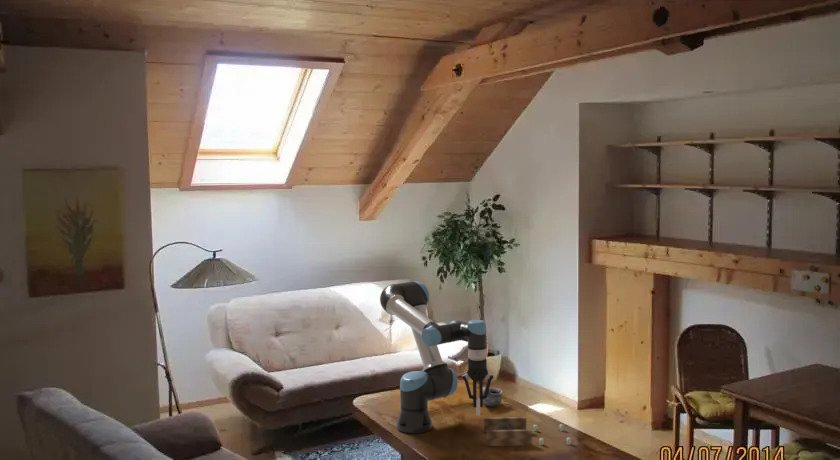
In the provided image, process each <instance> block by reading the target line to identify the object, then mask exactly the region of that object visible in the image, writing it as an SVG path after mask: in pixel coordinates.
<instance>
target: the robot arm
mask: <svg viewBox="0 0 840 460" xmlns="http://www.w3.org/2000/svg"><path fill="white" fill-rule="evenodd" d="M429 301H430V292H429V290H428V288H427V286H426V285H425V284H424V283H422V282H421V281H412V280H411V281H408V282H401V283H392V284H388V285H386V286H385V287H384V288H383V290H382V291H381V293H380V296H379V302H380V305H381V308H382V309H383V310H384V311H385V313H388V314H389V315H391V316H395V317H397V318H398V319H399V320H400V321H402V322H403V323H404V324H406V325H408V326H409V327H410V329H411V331H412V334H413V337H414V341H415V344H416V346H417V349H418V353H419V357H420V359H421V362H422V366H423V368H422V370H416V371H415V370H412V371H409V372H406V373H404V374H403V375H402V376H401V378H400V383H399V391H400V395H399V396H400V411H399V414H398V418H397V421H396V429H397V431H400V432H401V433H406V434H423V433H426V432H428V431H431V430H432V428H433V420H432V418H431V416H430V412H429V408H428V407H429V405H428V402H429V401H433V400H437V399H440V398H441V399H442V398H447V397H449V396H452V395H454V393H456V391H457V387H458V383H459V381H458V375H457V372H456V371H455V370H454V369H453V368H451V367H449V366H448V363H447V362H445V361H444V360H443V359H442V357H441V356H442V355H441V353H440V349H439V347H438V346H439V345H443V344H448V343H454V342H459V341H463V342H466V343H467V358H468V359H467V364H468V365H467V367H468V368H467V370H466V373H465V374H462V375H461V378H462V380H463V381H464V383H465V388H466V390H467V395H468V398H469V399H471V400H473V401H472V403H473V404H472V405H473V406H472V407H473V408H475V415H476V417H480V416H481V408H483V405H484V403H483V399H484V398H487V396H488V392H489V388H491V387H490V386H491V382H492V380H493V379H494V375H493V374H492V373H490V372H489V371H488V368H487V367H488V363H487V361H488V360H487V323H486V321H485V320H483V319H470V320H468V322H465V321H462V320H458V319H457V320H452V321H451V322H449V323H446V324H438V323H436V322H435V321H433V320H432V319H431V318H429V317H428V314H427V309H428V303H429ZM469 378H470V379H471V381H472V392H471V388H470V384H469V380H468V379H469ZM485 378H487V379H486V383H485V386H484V385H483V384H484V382H483V381H484V380H485ZM477 382H478V391H479V393H478V396H479V397H477ZM483 387H485V392H484V395H483Z"/></svg>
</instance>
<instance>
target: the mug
mask: <svg viewBox="0 0 840 460" xmlns="http://www.w3.org/2000/svg"><path fill="white" fill-rule="evenodd" d="M485 387H486V386H483V395H484V392H485ZM502 394H503V390H502V389H500V388H497V387H489V392H488V396H487V398H484V399H483V405H485V406H487V407H490V408H493V407H498V406H499V405H500V404H501V402H502Z"/></svg>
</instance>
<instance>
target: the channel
mask: <svg viewBox="0 0 840 460" xmlns="http://www.w3.org/2000/svg"><path fill="white" fill-rule="evenodd" d="M502 422H509V423H511V424H512V425H513V427H514V429H515V430H493V429H494V428H495V427H496V426H497V425H498V424H500V423H502ZM482 425H483V426H482V432H483V433H484V434H486V447H504V446H507V447H508V446H509V447H510V446H511V447H514V446H515V447H516V446H517V447H518V446H532V445H533V443H532V442H533V433H532V432H533V431H532V429H527V416H513V417H512V416H511V417H509V416H505V417H504V416H503V417H502V416H501V417H499V416H498V417H497V416H496V417H495V416H494V417H489V416H488V417H482Z"/></svg>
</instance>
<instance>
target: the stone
mask: <svg viewBox="0 0 840 460" xmlns="http://www.w3.org/2000/svg"><path fill="white" fill-rule="evenodd" d="M493 430H515V429H514V427H513V425H512V424H511V423H509V422H502V423H500V424H498V425H497V426H496V427H495V428H494V429H493Z"/></svg>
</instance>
